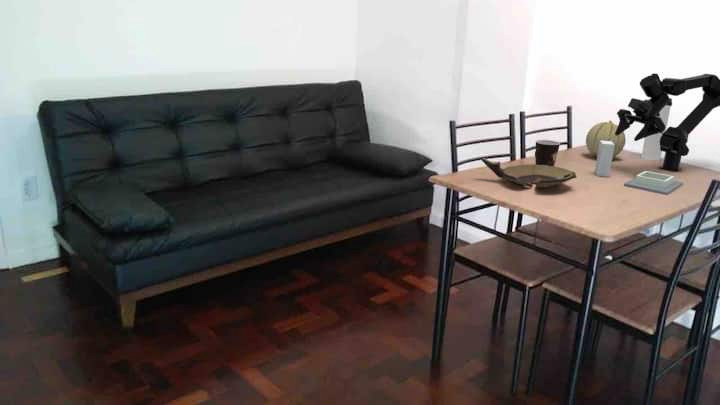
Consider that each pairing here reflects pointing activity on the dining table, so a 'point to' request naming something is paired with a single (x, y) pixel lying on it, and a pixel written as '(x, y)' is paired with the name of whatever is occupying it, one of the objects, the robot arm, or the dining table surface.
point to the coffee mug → (546, 152)
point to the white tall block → (655, 139)
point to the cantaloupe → (604, 137)
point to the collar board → (654, 182)
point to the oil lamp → (532, 174)
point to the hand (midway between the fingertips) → (625, 137)
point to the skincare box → (604, 158)
